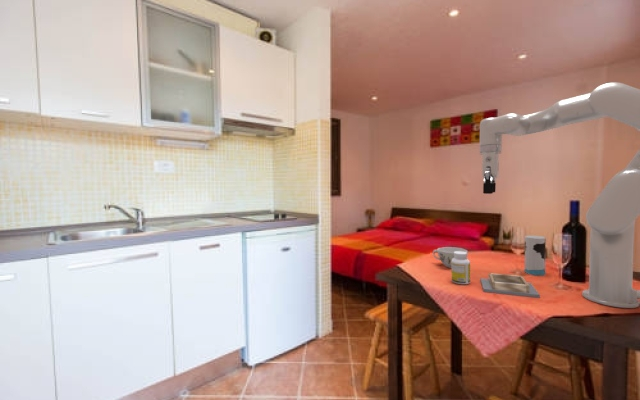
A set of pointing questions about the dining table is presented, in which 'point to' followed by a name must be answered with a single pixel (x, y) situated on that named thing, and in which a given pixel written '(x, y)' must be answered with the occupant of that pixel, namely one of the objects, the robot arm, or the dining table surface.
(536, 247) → the milk carton
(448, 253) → the teacup
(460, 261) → the pill bottle
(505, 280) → the beige square tray
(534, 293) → the dock board
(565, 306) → the dining table surface
